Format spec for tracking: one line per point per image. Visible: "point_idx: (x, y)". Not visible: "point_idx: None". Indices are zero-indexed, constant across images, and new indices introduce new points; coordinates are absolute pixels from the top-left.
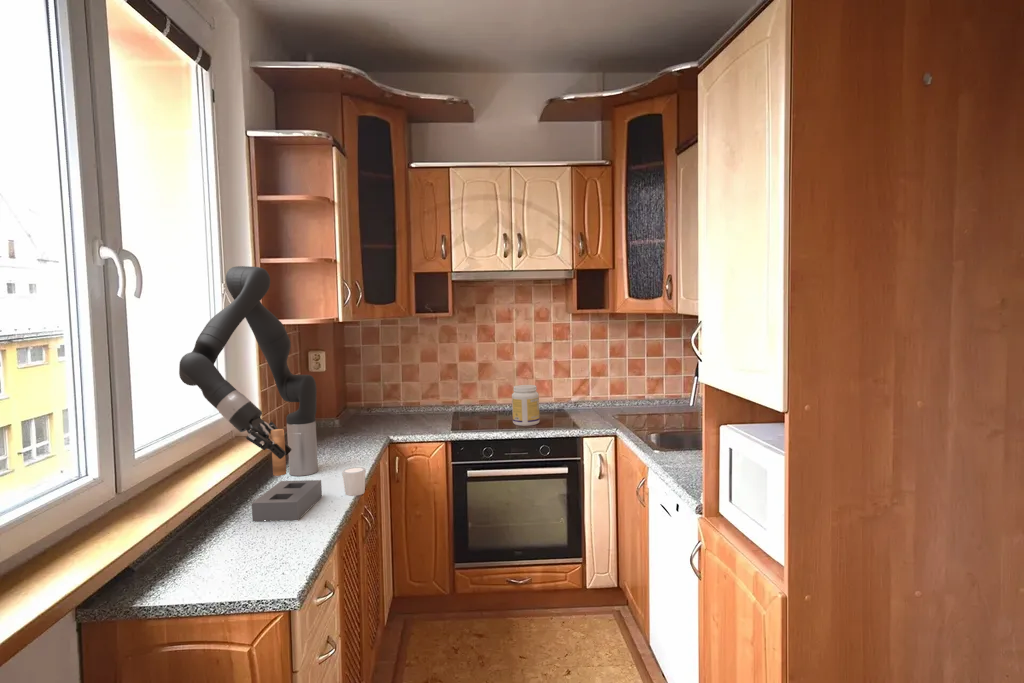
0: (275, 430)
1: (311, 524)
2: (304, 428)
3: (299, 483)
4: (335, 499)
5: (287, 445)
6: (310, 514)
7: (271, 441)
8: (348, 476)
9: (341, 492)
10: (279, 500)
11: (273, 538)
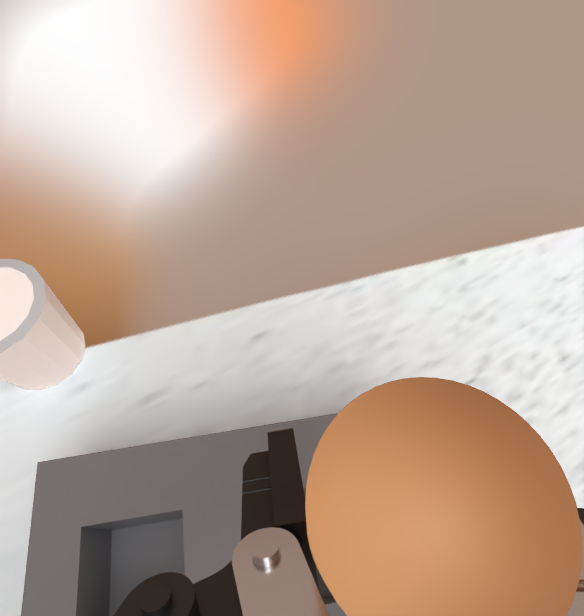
0: (464, 542)
1: (415, 351)
2: None
3: (80, 574)
4: (125, 395)
5: (278, 460)
6: (314, 409)
7: (581, 522)
8: (48, 317)
9: (26, 413)
10: None
11: (581, 417)
